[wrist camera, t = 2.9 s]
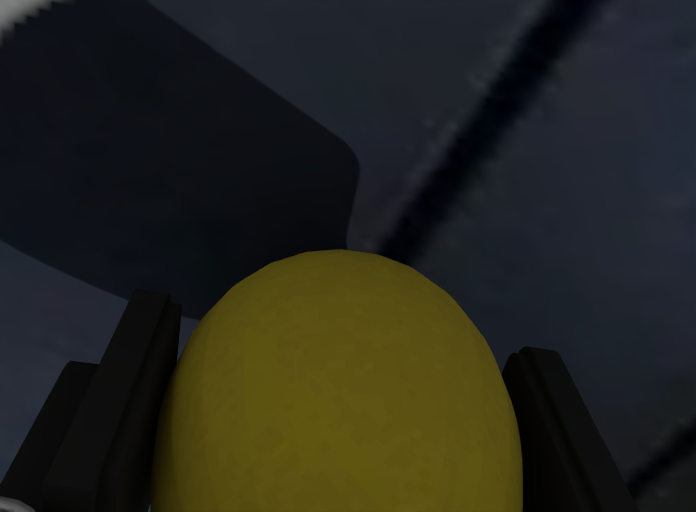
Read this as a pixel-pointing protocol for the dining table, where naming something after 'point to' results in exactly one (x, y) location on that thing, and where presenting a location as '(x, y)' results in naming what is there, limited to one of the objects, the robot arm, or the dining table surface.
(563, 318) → the dining table surface
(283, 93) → the dining table surface
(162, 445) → the lemon
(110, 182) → the dining table surface
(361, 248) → the dining table surface
